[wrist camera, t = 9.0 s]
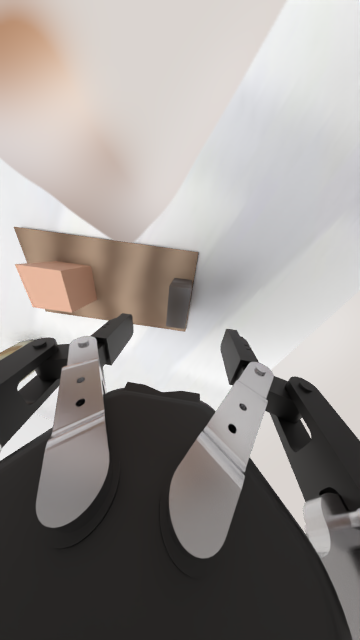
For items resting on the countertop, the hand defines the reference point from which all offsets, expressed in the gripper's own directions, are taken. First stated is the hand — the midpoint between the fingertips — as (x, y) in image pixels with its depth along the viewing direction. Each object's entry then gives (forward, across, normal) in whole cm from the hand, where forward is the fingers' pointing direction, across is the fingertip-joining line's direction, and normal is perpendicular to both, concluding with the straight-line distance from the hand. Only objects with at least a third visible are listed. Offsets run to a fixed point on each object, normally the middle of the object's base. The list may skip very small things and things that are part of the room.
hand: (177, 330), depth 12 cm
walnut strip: (+10, +11, 0) cm, 15 cm away
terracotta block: (+9, +16, 0) cm, 18 cm away
